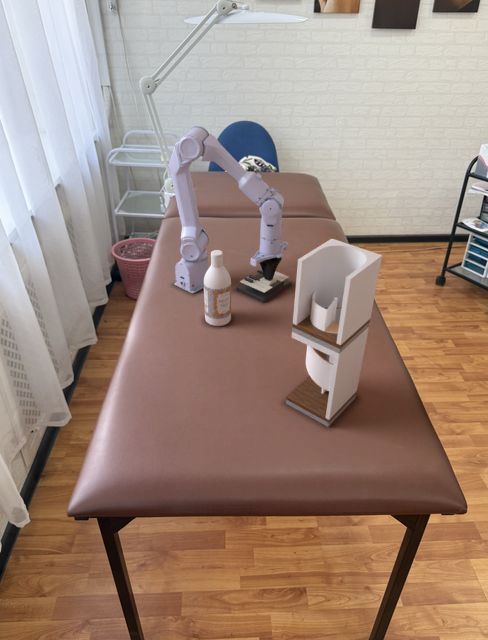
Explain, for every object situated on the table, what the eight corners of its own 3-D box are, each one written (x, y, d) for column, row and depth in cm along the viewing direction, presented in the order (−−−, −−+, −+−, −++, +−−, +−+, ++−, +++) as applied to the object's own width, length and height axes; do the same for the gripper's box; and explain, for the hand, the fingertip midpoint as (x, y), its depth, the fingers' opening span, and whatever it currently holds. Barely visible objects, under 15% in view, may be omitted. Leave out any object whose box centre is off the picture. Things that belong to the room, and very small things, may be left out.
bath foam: (213, 329, 132) (211, 261, 120) (200, 317, 136) (197, 250, 125) (235, 321, 135) (236, 254, 123) (222, 309, 139) (221, 243, 128)
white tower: (314, 377, 117) (331, 238, 97) (355, 397, 111) (382, 255, 92) (286, 403, 110) (298, 259, 90) (328, 427, 104) (350, 279, 84)
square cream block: (276, 284, 148) (277, 278, 147) (269, 289, 146) (269, 283, 145) (267, 280, 150) (267, 274, 149) (259, 285, 148) (259, 279, 146)
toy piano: (290, 285, 151) (291, 276, 149) (263, 303, 143) (263, 294, 141) (264, 274, 156) (264, 265, 155) (236, 290, 148) (236, 281, 146)
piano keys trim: (289, 277, 149) (289, 274, 149) (264, 292, 142) (264, 290, 141) (265, 267, 154) (265, 265, 153) (239, 281, 146) (239, 279, 146)
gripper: (265, 249, 132) (263, 293, 140) (297, 231, 141) (294, 274, 149) (245, 241, 136) (244, 285, 144) (277, 224, 145) (275, 266, 153)
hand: (268, 279), depth 147 cm, fingers closed, pressing on square cream block
